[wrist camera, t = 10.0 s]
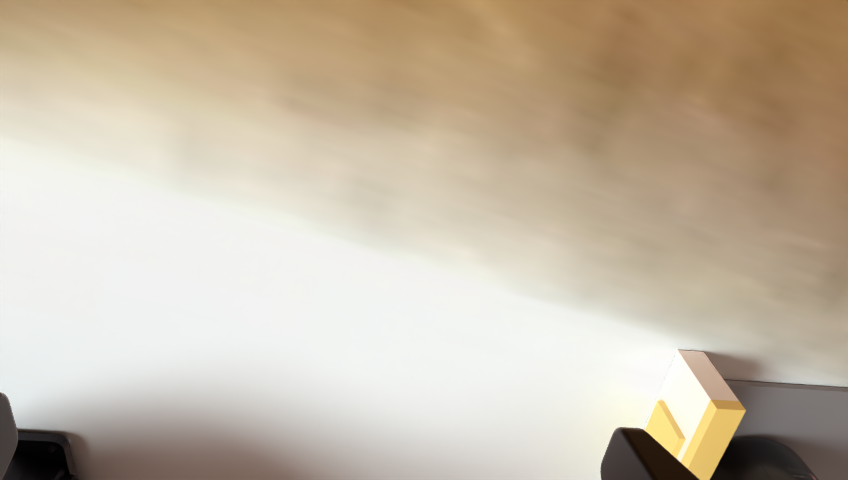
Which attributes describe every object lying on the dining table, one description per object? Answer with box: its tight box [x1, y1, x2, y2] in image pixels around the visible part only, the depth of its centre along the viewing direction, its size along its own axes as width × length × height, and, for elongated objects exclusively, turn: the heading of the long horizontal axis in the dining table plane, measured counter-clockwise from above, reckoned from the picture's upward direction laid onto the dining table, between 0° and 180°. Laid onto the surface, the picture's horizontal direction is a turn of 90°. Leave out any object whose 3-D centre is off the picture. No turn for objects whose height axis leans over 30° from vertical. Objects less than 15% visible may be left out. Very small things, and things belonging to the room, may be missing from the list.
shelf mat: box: [724, 380, 848, 480], centre depth 30 cm, size 10×12×1 cm
